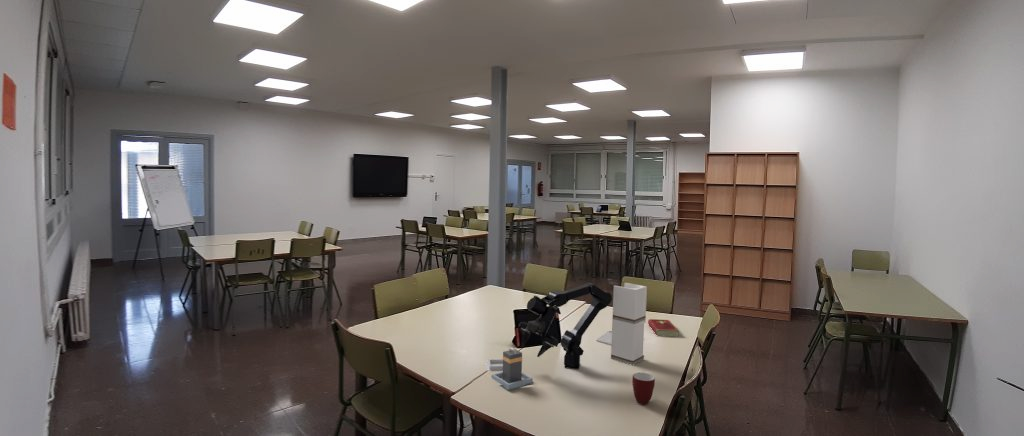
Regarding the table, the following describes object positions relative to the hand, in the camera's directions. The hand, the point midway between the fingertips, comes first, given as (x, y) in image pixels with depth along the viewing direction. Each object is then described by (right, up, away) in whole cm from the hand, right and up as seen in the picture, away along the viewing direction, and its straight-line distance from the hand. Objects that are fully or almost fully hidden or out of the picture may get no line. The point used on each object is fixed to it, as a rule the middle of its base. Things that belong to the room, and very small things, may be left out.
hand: (529, 352), depth 203 cm
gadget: (+50, -8, +49) cm, 71 cm away
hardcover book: (+79, -8, +68) cm, 104 cm away
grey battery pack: (-8, -9, -9) cm, 15 cm away
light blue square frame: (-8, -10, -9) cm, 15 cm away
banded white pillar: (+47, -10, +21) cm, 53 cm away
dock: (-13, -9, +6) cm, 17 cm away
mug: (+42, -12, -23) cm, 50 cm away
